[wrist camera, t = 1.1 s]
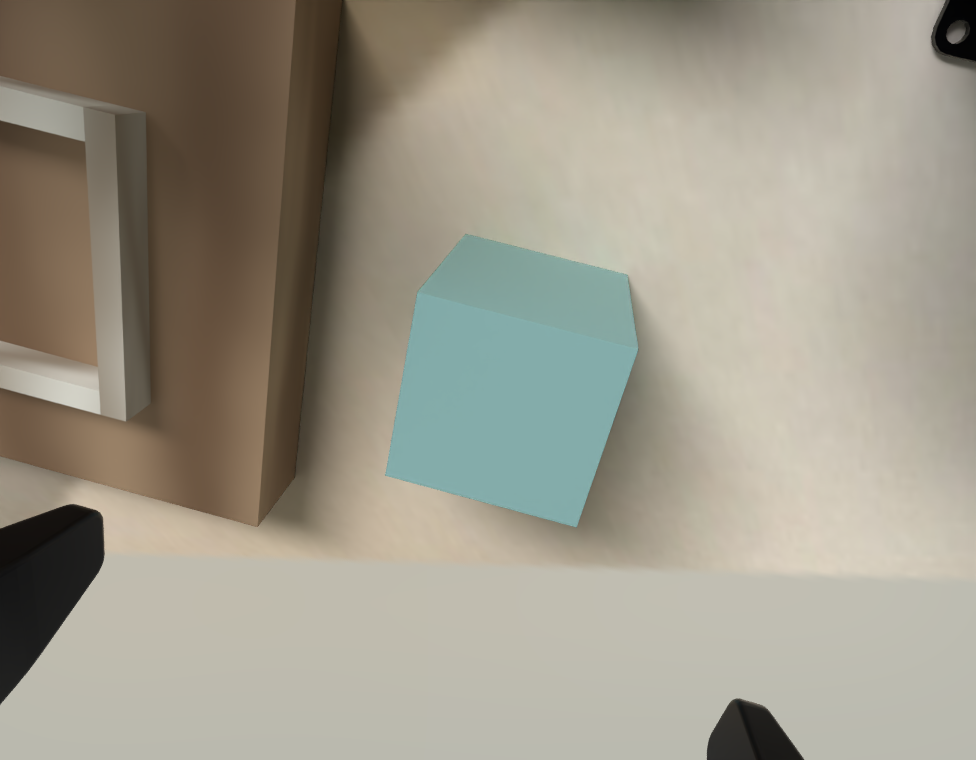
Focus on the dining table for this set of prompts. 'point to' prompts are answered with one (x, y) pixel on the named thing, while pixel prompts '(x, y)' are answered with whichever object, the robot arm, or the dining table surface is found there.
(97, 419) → the walnut base plate
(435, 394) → the teal block
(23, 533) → the robot arm
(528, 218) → the dining table surface
